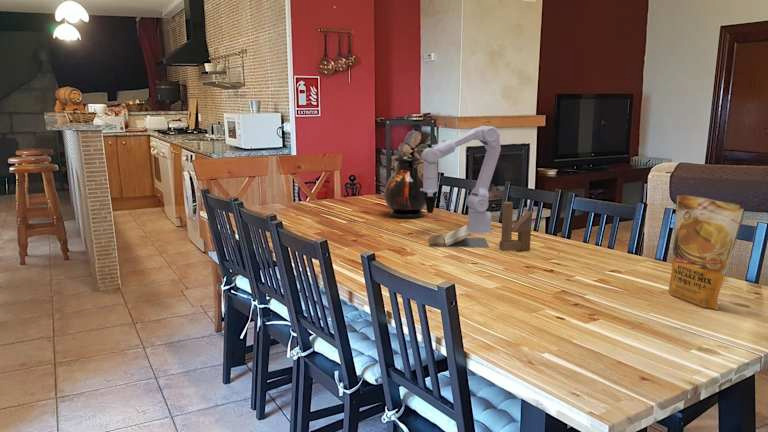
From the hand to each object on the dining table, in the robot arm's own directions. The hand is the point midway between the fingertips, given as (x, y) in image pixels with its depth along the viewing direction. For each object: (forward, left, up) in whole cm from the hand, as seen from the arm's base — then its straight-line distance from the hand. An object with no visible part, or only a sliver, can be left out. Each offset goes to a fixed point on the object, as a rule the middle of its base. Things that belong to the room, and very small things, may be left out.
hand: (430, 211), depth 235 cm
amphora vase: (+10, -41, -10) cm, 43 cm away
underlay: (-11, +15, -10) cm, 21 cm away
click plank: (-10, +15, -7) cm, 20 cm away
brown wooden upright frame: (-31, +24, -10) cm, 40 cm away
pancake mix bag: (-71, +77, -10) cm, 105 cm away
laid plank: (-2, +15, -10) cm, 18 cm away
